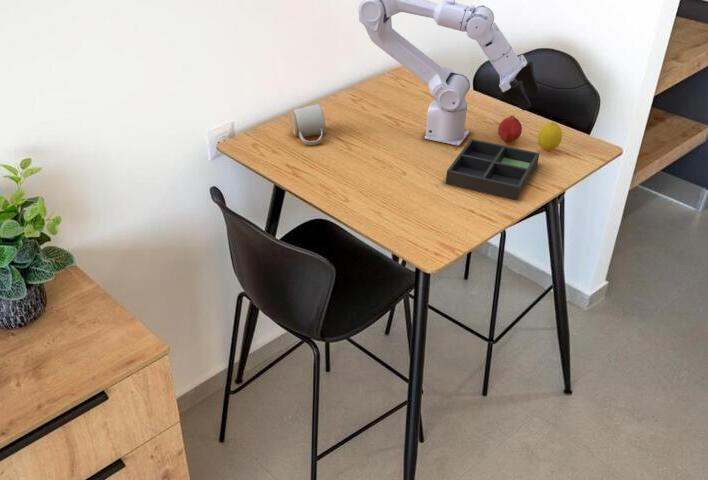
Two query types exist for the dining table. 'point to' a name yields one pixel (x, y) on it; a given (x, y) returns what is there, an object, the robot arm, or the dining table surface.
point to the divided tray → (492, 169)
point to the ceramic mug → (308, 123)
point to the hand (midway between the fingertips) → (531, 100)
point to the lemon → (550, 136)
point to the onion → (510, 129)
